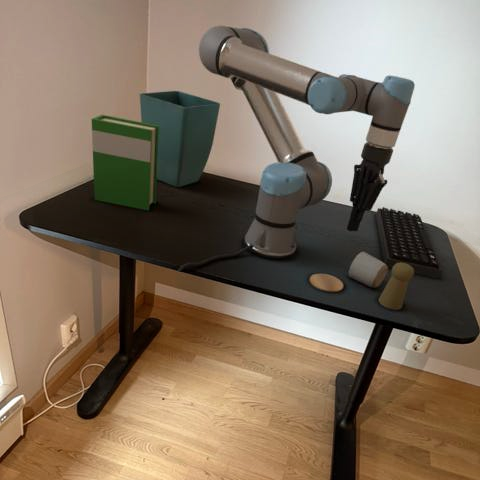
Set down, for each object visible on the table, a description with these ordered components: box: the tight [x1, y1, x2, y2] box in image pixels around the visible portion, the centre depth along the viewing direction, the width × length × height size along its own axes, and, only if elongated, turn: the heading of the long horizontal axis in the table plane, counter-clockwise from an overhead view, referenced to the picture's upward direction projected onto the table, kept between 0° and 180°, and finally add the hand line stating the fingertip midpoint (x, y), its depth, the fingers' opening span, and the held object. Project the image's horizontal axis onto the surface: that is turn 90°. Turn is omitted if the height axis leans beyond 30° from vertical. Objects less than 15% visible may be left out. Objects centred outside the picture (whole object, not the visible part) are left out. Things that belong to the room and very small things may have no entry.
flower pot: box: [139, 90, 221, 188], centre depth 161 cm, size 20×20×28 cm
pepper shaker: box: [378, 263, 415, 311], centre depth 113 cm, size 6×6×11 cm
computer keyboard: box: [375, 206, 443, 280], centre depth 150 cm, size 45×16×4 cm, turn 169°
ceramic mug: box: [348, 251, 389, 289], centre depth 122 cm, size 11×8×8 cm
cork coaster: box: [309, 273, 344, 293], centre depth 119 cm, size 9×9×1 cm
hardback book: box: [91, 114, 159, 211], centre depth 139 cm, size 18×7×24 cm, turn 81°
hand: (352, 229), depth 129 cm, fingers closed
